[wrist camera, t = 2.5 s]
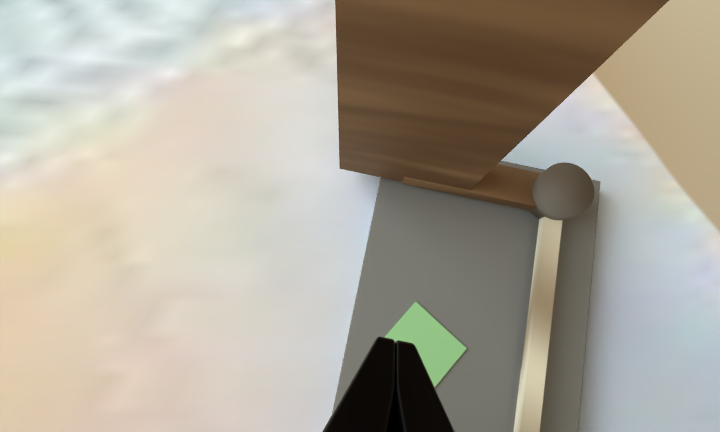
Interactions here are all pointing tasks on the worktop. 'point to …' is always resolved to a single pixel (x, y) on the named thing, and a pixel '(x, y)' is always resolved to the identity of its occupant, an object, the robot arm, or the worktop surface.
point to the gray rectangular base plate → (472, 301)
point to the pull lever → (477, 113)
